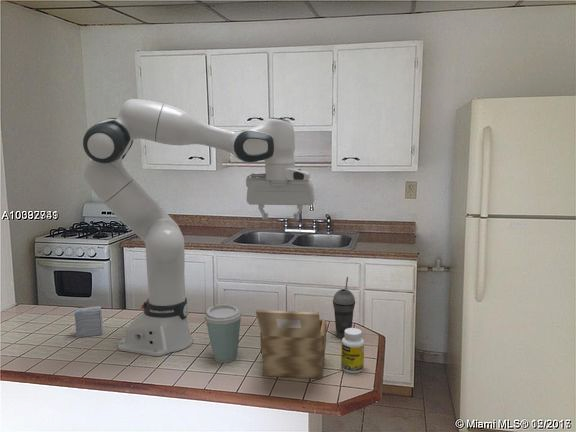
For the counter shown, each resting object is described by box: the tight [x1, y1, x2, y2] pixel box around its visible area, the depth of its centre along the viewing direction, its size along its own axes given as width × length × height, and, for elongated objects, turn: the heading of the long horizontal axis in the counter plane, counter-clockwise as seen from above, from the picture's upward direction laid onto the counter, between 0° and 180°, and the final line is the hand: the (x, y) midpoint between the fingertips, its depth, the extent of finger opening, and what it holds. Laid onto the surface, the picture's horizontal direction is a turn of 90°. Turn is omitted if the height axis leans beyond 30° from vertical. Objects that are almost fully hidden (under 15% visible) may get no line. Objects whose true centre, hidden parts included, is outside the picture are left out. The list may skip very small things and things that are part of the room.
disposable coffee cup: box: [204, 303, 243, 364], centre depth 140 cm, size 11×11×15 cm
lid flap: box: [255, 309, 321, 338], centre depth 123 cm, size 16×12×1 cm
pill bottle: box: [340, 327, 365, 374], centre depth 133 cm, size 6×6×11 cm
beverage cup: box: [332, 276, 356, 340], centre depth 155 cm, size 7×7×20 cm
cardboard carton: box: [259, 318, 327, 380], centre depth 135 cm, size 17×12×12 cm
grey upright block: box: [74, 305, 104, 339], centre depth 159 cm, size 8×4×9 cm, turn 108°
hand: (280, 219), depth 146 cm, fingers open, 8 cm apart
